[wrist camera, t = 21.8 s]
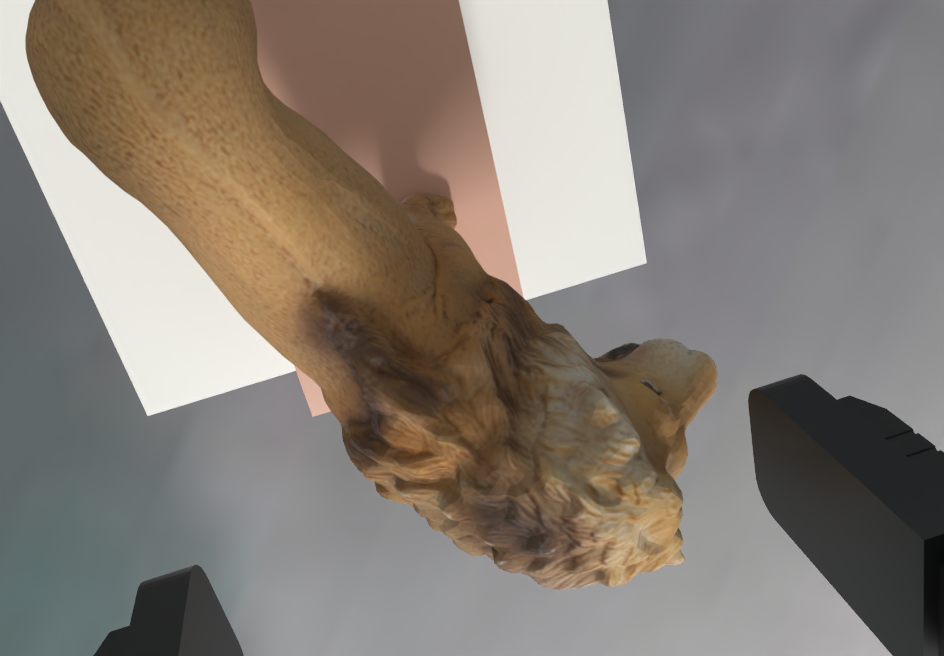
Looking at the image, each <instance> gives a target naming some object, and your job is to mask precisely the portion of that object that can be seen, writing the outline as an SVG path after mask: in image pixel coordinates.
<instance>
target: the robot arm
mask: <svg viewBox="0 0 944 656" xmlns="http://www.w3.org/2000/svg"><path fill="white" fill-rule="evenodd" d="M748 403H749V415H750V424H751V434H752V444H753V454H754V464H755V473H756V480H757V484H758V488H759V491H760V493H761V496H762V498H763V501H764V503H765V505H766V507H767V509H768V510H769V512H770V513H771V515H772V516H773V518H774V519H775V520H776V521H777V523H778V524H779V525H780V526H781V527H782V528H783V529H784V531H785V532H786V533H787V534H788V535H789V536H790V538H791V539H792V540H793V541H794V542H795V543H796V544H797V546H798V547H799V548H800V549H801V550H802V551H803V553H804V554H805V555H806V556H807V557H808V558H809V559H810V561H811V562H812V563H813V564H814V565H815V566H816V568H817V569H818V570H819V571H820V572H821V573H822V574H823V576H824V577H825V578H826V579H827V580H828V581H829V583H830V584H831V585H832V586H833V587H834V588H835V589H836V591H837V592H838V593H839V594H840V595H841V596H842V598H843V599H844V600H845V601H846V602H847V603H848V604H849V606H850V607H851V608H852V609H853V610H854V611H855V612H856V614H857V615H858V616H859V617H860V618H861V619H862V621H863V622H864V623H865V624H866V625H867V626H868V627H869V629H870V630H871V631H872V632H873V633H874V634H875V636H876V637H877V638H878V639H879V640H880V641H881V642H882V644H883V645H884V646H885V647H886V648H887V649H888V651H889V652H890V653H891V654H892V655H893V656H944V452H942V451H941V450H940V451H937V450H936V448H935V446H934V445H933V444H932V443H931V442H929V441H928V440H927V439H925V438H924V437H923V436H921V435H920V434H919V433H917V434H915V433H914V432H913V429H912V428H911V427H909V426H908V425H907V424H905V423H904V422H903V421H901V420H900V419H899V418H898V417H896V416H895V415H894V414H892V413H891V412H890V411H888V410H887V409H885V408H882V407H880V406H877V405H874V404H871V403H868V402H866V401H863V400H860V399H857V398H855V397H852V396H847V397H844V398H841V399H838V400H836V399H835V398H834V397H833V396H832V395H830V394H829V393H828V392H827V391H825V390H824V389H823V388H822V387H820V386H819V385H818V384H817V383H815V382H814V381H813V380H812V379H810V378H809V377H808V376H806V375H802V374H800V375H797V376H794V377H790V378H787V379H784V380H781V381H778V382H775V383H772V384H768V385H765V386H762V387H759V388H756V389H753V390H752V391H751V392H750V394H749V400H748ZM94 656H243V652H242V649H241V647H240V644H239V642H238V640H237V638H236V636H235V634H234V632H233V629H232V627H231V625H230V623H229V621H228V619H227V617H226V615H225V613H224V611H223V609H222V607H221V605H220V603H219V600H218V598H217V596H216V594H215V592H214V590H213V588H212V586H211V584H210V582H209V580H208V578H207V576H206V574H205V572H204V571H203V569H202V568H201V567H200V566H198V565H194V566H191V567H188V568H185V569H181V570H178V571H175V572H172V573H169V574H166V575H163V576H159V577H156V578H153V579H150V580H147V581H144V582H142V583H141V584H140V586H139V588H138V591H137V595H136V600H135V604H134V609H133V613H132V618H131V622H130V626H127V627H124V628H121V629H118V630H115V631H112V632H110V633H109V634H108V635H107V637H106V638H105V640H104V641H103V643H102V644H101V646H100V647H99V649H98V650H97V652H96V653H95V654H94Z"/></svg>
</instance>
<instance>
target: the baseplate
mask: <svg viewBox="0 0 944 656" xmlns="http://www.w3.org/2000/svg"><path fill="white" fill-rule="evenodd" d="M34 2H35V0H0V101H1V103H2V105H3V107H4V109H5V112H6V114H7V116H8V118H9V120H10V122H11V124H12V127H13V129H14V131H15V133H16V135H17V137H18V139H19V142H20V144H21V146H22V148H23V150H24V152H25V154H26V157H27V159H28V161H29V163H30V165H31V167H32V169H33V171H34V174H35V176H36V178H37V180H38V182H39V184H40V186H41V189H42V191H43V193H44V195H45V197H46V199H47V201H48V204H49V206H50V208H51V210H52V212H53V214H54V216H55V219H56V221H57V223H58V225H59V227H60V229H61V231H62V234H63V236H64V238H65V240H66V242H67V244H68V246H69V248H70V251H71V253H72V255H73V257H74V259H75V261H76V263H77V266H78V268H79V270H80V272H81V274H82V276H83V278H84V281H85V283H86V285H87V287H88V289H89V291H90V293H91V296H92V298H93V300H94V302H95V304H96V306H97V308H98V310H99V313H100V315H101V317H102V319H103V321H104V323H105V325H106V328H107V330H108V332H109V334H110V336H111V338H112V340H113V343H114V345H115V347H116V349H117V351H118V353H119V355H120V358H121V360H122V362H123V364H124V366H125V368H126V370H127V372H128V375H129V377H130V379H131V381H132V383H133V385H134V387H135V390H136V392H137V394H138V396H139V398H140V400H141V402H142V405H143V407H144V409H145V411H146V413H147V415H148V416H149V415H153V414H156V413H159V412H162V411H166V410H169V409H172V408H176V407H179V406H182V405H185V404H189V403H192V402H195V401H198V400H202V399H205V398H208V397H211V396H215V395H218V394H221V393H224V392H228V391H231V390H234V389H237V388H241V387H244V386H247V385H251V384H254V383H257V382H260V381H264V380H267V379H270V378H273V377H277V376H280V375H283V374H286V373H290V372H293V371H296V369H295V366H294V365H293V364H292V363H291V362H290V361H288V360H287V359H286V358H284V357H283V356H282V355H281V354H280V353H279V352H278V351H277V350H276V349H275V348H274V347H272V346H271V345H270V344H269V343H268V342H267V341H266V340H265V339H264V338H263V337H262V336H261V335H260V334H259V333H258V332H257V331H256V330H254V329H253V328H252V327H251V326H250V325H249V324H248V323H247V322H246V321H245V320H244V319H243V318H242V317H241V315H240V314H239V313H238V312H237V311H236V310H235V309H234V307H233V306H232V305H231V303H230V302H229V301H228V300H227V298H226V297H225V296H224V295H223V293H222V292H221V291H220V290H219V288H218V287H217V286H216V285H215V283H214V282H213V281H212V280H211V278H210V277H209V276H208V275H207V274H206V272H205V271H204V270H203V269H202V267H201V266H200V265H199V264H198V263H197V261H196V260H195V259H194V258H193V256H192V255H191V254H190V253H189V251H188V250H187V249H186V248H185V247H184V245H183V244H182V243H181V242H180V241H179V239H178V238H177V237H176V236H175V235H174V234H173V233H172V232H171V231H170V229H169V228H168V227H167V226H166V225H165V224H164V223H163V222H162V221H161V220H160V219H158V218H157V217H156V216H155V215H154V214H153V213H152V212H151V211H150V210H149V209H147V208H146V207H145V206H144V205H143V204H142V203H141V202H139V201H138V200H136V199H135V198H133V197H132V196H130V195H129V194H127V193H126V192H125V191H123V190H122V189H121V188H120V187H118V186H117V185H116V184H115V183H113V182H112V181H111V180H110V179H109V178H107V177H106V176H105V175H104V174H103V173H102V172H101V171H100V170H99V169H98V168H97V167H96V166H95V165H94V164H93V163H92V162H91V161H90V160H89V159H88V158H87V157H86V156H85V155H84V154H83V153H82V152H81V151H79V150H78V149H77V148H76V147H75V146H73V145H72V144H71V143H70V142H69V140H68V139H67V138H66V136H65V135H64V134H63V132H62V131H61V129H60V128H59V126H58V125H57V123H56V122H55V120H54V119H53V117H52V116H51V114H50V113H49V111H48V109H47V107H46V105H45V103H44V101H43V99H42V97H41V95H40V93H39V91H38V89H37V87H36V84H35V82H34V80H33V76H32V73H31V70H30V67H29V64H28V60H27V55H26V49H25V37H26V31H27V25H28V19H29V13H30V11H31V8H32V6H33V4H34ZM459 4H460V8H461V13H462V18H463V22H464V27H465V31H466V36H467V41H468V45H469V50H470V54H471V59H472V64H473V68H474V73H475V77H476V82H477V86H478V91H479V96H480V100H481V105H482V109H483V114H484V119H485V123H486V128H487V132H488V137H489V141H490V146H491V151H492V155H493V160H494V164H495V169H496V174H497V178H498V183H499V187H500V192H501V197H502V201H503V206H504V210H505V215H506V219H507V224H508V229H509V233H510V238H511V242H512V247H513V252H514V256H515V261H516V265H517V270H518V274H519V279H520V284H521V288H522V293H523V297H524V299H525V300H528V299H531V298H534V297H538V296H541V295H544V294H547V293H551V292H554V291H557V290H560V289H564V288H567V287H570V286H573V285H577V284H580V283H583V282H587V281H590V280H593V279H596V278H600V277H603V276H606V275H609V274H613V273H616V272H619V271H622V270H626V269H629V268H632V267H635V266H639V265H642V264H645V263H647V262H646V255H645V249H644V242H643V235H642V229H641V222H640V215H639V209H638V202H637V195H636V189H635V182H634V175H633V169H632V162H631V155H630V149H629V142H628V135H627V129H626V122H625V115H624V109H623V102H622V95H621V89H620V82H619V75H618V69H617V62H616V55H615V49H614V42H613V35H612V29H611V22H610V15H609V9H608V2H607V0H459Z"/></svg>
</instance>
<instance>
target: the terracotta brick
mask: <svg viewBox="0 0 944 656" xmlns="http://www.w3.org/2000/svg"><path fill="white" fill-rule="evenodd" d="M250 1H251V4H252V8H253V12H254V17H255V22H256V27H257V61H258V66H259V69H260V73H261V76H262V79H263V81H264V83H265V84H266V86H267V87H268V88H269V90H270V91H271V92H272V93H273V95H275V96H276V97H277V98H278V99H279V100H280V101H281V102H282V103H284V104H285V105H286V106H288V107H289V108H291V109H292V110H294V111H295V112H297V113H298V114H300V115H302V116H303V117H304V118H306V119H307V120H308V121H310V122H311V123H312V124H314V125H315V126H316V127H318V128H319V129H320V130H321V131H323V132H324V133H325V134H326V135H327V136H328V137H329V138H330V139H331V140H332V141H333V142H334V143H336V144H337V145H338V146H339V147H340V148H341V149H342V150H343V151H344V152H345V153H346V154H348V155H349V156H350V157H351V158H352V159H354V160H355V161H356V162H357V163H359V164H360V165H361V166H362V167H363V168H364V169H366V170H367V171H368V172H369V173H370V174H371V175H372V176H373V177H374V178H376V179H377V180H378V181H379V182H380V183H381V184H382V186H383V187H384V188H385V189H386V190H387V191H388V192H389V193H390V195H391V196H392V197H393V198H394V199H395V200H396V202H397V203H398V204H399V203H401V202H402V201H403V200H404V199H405V198H406V197H408V196H411V195H413V194H435V195H440V196H444V197H447V198H449V199H450V200H451V201H452V202H453V204H454V213H455V215H456V217H457V225H456V227H455V229H454V230H455V231H456V232H458V233H459V234H460V235H461V236H462V238H463V239H464V240H465V242H466V243H467V245H468V246H469V247H470V249H471V251H472V252H473V254H474V256H475V258H476V259H477V261H478V262H479V264H480V265H481V267H482V268H483V269H484V271H485V272H486V273H487V274H488V275H490V276H493V277H495V278H498V279H500V280H502V281H505V282H506V283H508V284H509V286H511V287H512V288H513V289H514V290H515V291H516V292H518V293H519V294H520V295H521V296H522V297H523V293H522V288H521V284H520V279H519V274H518V270H517V265H516V261H515V256H514V252H513V247H512V242H511V238H510V233H509V229H508V224H507V219H506V215H505V210H504V206H503V201H502V197H501V192H500V187H499V183H498V178H497V174H496V169H495V164H494V160H493V155H492V151H491V146H490V141H489V137H488V132H487V128H486V123H485V119H484V114H483V109H482V105H481V100H480V96H479V91H478V86H477V82H476V77H475V73H474V68H473V64H472V59H471V54H470V50H469V45H468V41H467V36H466V31H465V27H464V22H463V18H462V13H461V8H460V4H459V0H250ZM523 298H524V297H523ZM294 366H295V365H294ZM295 369H296V372H297V375H298V377H299V380H300V383H301V386H302V389H303V391H304V394H305V397H306V400H307V402H308V405H309V408H310V411H311V413H312V416H313V417H314V416H317V415H320V414H323V413H327V412H330V411H331V410H330V409H329V407H328V406H327V404H326V403H325V401H324V398H323V394H322V391H321V388H320V387H319V386H318V385H317V384H316V383H315V382H314V381H313V380H312V379H311V378H310V377H308V376H307V375H306V374H305V373H303V372H302V371H301V370H300V369H298V368H297V367H296V366H295Z"/></svg>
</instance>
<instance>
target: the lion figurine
mask: <svg viewBox="0 0 944 656" xmlns="http://www.w3.org/2000/svg"><path fill="white" fill-rule="evenodd" d="M25 49H26V55H27V60H28V64H29V67H30V70H31V73H32V76H33V80H34V82H35V84H36V87H37V89H38V91H39V93H40V95H41V97H42V99H43V101H44V103H45V105H46V107H47V109H48V111H49V113H50V114H51V116H52V117H53V119H54V120H55V122H56V123H57V125H58V126H59V128H60V129H61V131H62V132H63V134H64V135H65V136H66V138H67V139H68V140H69V142H70V143H71V144H72V145H73V146H75V147H76V148H77V149H78V150H79V151H81V152H82V153H83V154H84V155H85V156H86V157H87V158H88V159H89V160H90V161H91V162H92V163H93V164H94V165H95V166H96V167H97V168H98V169H99V170H100V171H101V172H102V173H103V174H104V175H105V176H106V177H107V178H109V179H110V180H111V181H112V182H113V183H115V184H116V185H117V186H118V187H120V188H121V189H122V190H123V191H125V192H126V193H127V194H129V195H130V196H132V197H133V198H135V199H136V200H138V201H139V202H141V203H142V204H143V205H144V206H145V207H146V208H147V209H149V210H150V211H151V212H152V213H153V214H154V215H155V216H156V217H157V218H158V219H160V220H161V221H162V222H163V223H164V224H165V225H166V226H167V227H168V228H169V229H170V231H171V232H172V233H173V234H174V235H175V236H176V237H177V238H178V239H179V241H180V242H181V243H182V244H183V245H184V247H185V248H186V249H187V250H188V251H189V253H190V254H191V255H192V256H193V258H194V259H195V260H196V261H197V263H198V264H199V265H200V266H201V267H202V269H203V270H204V271H205V272H206V274H207V275H208V276H209V277H210V278H211V280H212V281H213V282H214V283H215V285H216V286H217V287H218V288H219V290H220V291H221V292H222V293H223V295H224V296H225V297H226V298H227V300H228V301H229V302H230V303H231V305H232V306H233V307H234V309H235V310H236V311H237V312H238V313H239V314H240V315H241V317H242V318H243V319H244V320H245V321H246V322H247V323H248V324H249V325H250V326H251V327H252V328H253V329H254V330H256V331H257V332H258V333H259V334H260V335H261V336H262V337H263V338H264V339H265V340H266V341H267V342H268V343H269V344H270V345H271V346H272V347H274V348H275V349H276V350H277V351H278V352H279V353H280V354H281V355H282V356H283V357H284V358H286V359H287V360H288V361H290V362H291V363H292V364H293V365H295V366H296V367H297V368H298V369H300V370H301V371H302V372H303V373H305V374H306V375H307V376H308V377H310V378H311V379H312V380H313V381H314V382H315V383H316V384H317V385H318V386H319V387H320V388H321V391H322V394H323V398H324V401H325V403H326V404H327V406H328V407H329V409H330V410H331V412H332V413H333V414H334V416H335V417H336V418H337V419H338V420H339V422H340V424H341V426H342V436H343V442H344V445H345V448H346V451H347V453H348V455H349V457H350V459H351V461H352V462H353V463H354V465H355V466H356V467H357V469H358V470H359V471H361V472H362V473H363V475H364V476H365V477H366V478H367V479H368V480H372V481H374V482H375V486H376V490H377V492H378V493H379V494H380V495H381V496H382V497H384V498H386V499H389V500H392V501H396V502H399V503H404V504H409V505H411V506H412V507H414V509H415V511H416V512H417V513H418V514H419V515H420V516H422V517H425V518H426V519H427V521H428V523H429V526H430V527H431V528H432V529H434V530H437V531H441V532H443V533H444V534H445V535H446V536H448V537H449V538H451V539H452V540H453V543H454V544H455V545H456V546H457V547H458V548H459V549H461V550H463V551H464V552H466V553H468V554H470V555H471V556H481V555H484V554H486V555H487V556H488V557H489V558H491V559H492V560H494V563H495V564H496V565H497V566H498V567H499V569H502V570H505V571H507V572H510V573H520V572H521V573H523V574H525V575H528V576H530V577H531V578H533V579H534V580H535V581H536V582H537V583H538V584H539V585H541V586H543V587H546V588H551V589H556V590H565V589H574V588H582V587H585V586H589V585H594V584H604V585H606V586H609V587H612V586H617V585H623V584H626V583H628V582H629V581H631V579H632V578H633V577H634V576H635V575H636V574H638V573H642V572H653V571H655V570H658V569H659V568H661V567H662V566H663V565H677V564H680V563H683V561H684V560H685V558H684V556H683V554H682V553H681V550H680V548H681V546H682V544H683V539H682V535H681V532H680V530H679V528H678V527H679V525H680V522H681V518H682V516H683V514H682V507H681V506H682V503H683V496H682V492H681V490H680V489H679V487H678V486H677V484H676V482H675V478H676V477H677V476H678V475H679V474H680V473H681V471H682V469H683V467H684V465H685V463H686V459H687V456H688V453H687V444H686V438H685V430H686V427H687V426H688V425H689V424H690V422H691V421H692V420H693V419H694V417H695V416H696V414H697V412H698V411H699V410H700V409H701V407H702V406H703V405H704V404H705V403H706V402H707V401H708V400H709V399H710V398H711V397H712V396H713V394H714V392H715V389H716V387H717V370H716V365H715V362H714V361H713V360H712V359H711V358H710V357H709V356H708V355H707V354H705V353H703V352H700V351H696V350H694V351H692V350H690V349H688V348H687V347H686V346H684V345H683V344H682V343H680V342H678V341H675V340H671V339H660V338H659V339H653V340H648V341H646V342H644V343H642V344H641V345H640V344H636V343H627V344H624V345H622V346H621V347H618V348H615V349H613V350H611V351H609V352H607V353H606V354H604V355H602V356H601V357H599V358H595V359H593V358H591V357H590V356H589V355H588V354H587V353H586V352H585V351H584V350H583V349H582V347H581V346H580V345H579V344H578V342H577V341H576V340H575V339H574V338H573V337H572V336H571V334H570V333H569V332H568V331H567V330H566V329H565V328H564V327H563V326H562V325H559V324H547V323H545V322H543V321H542V320H541V319H540V318H539V317H538V315H537V314H536V313H535V311H534V310H533V308H532V307H531V305H530V304H529V303H528V301H526V300H525V299H524V298H523V297H522V296H521V295H520V294H519V293H518V292H516V291H515V290H514V289H513V288H512V287H511V286H509V284H508V283H506V282H505V281H502V280H500V279H498V278H495V277H493V276H490V275H488V274H487V273H486V272H485V271H484V269H483V268H482V267H481V265H480V264H479V262H478V261H477V259H476V258H475V256H474V254H473V252H472V251H471V249H470V247H469V246H468V245H467V243H466V242H465V240H464V239H463V238H462V236H461V235H460V234H459V233H458V232H456V231H455V230H454V229H455V227H456V225H457V217H456V215H455V213H454V204H453V202H452V201H451V200H450V199H449V198H447V197H444V196H440V195H435V194H413V195H411V196H408V197H406V198H405V199H404V200H403V201H402V202H401V203H399V204H398V203H397V202H396V200H395V199H394V198H393V197H392V196H391V195H390V193H389V192H388V191H387V190H386V189H385V188H384V187H383V186H382V184H381V183H380V182H379V181H378V180H377V179H376V178H374V177H373V176H372V175H371V174H370V173H369V172H368V171H367V170H366V169H364V168H363V167H362V166H361V165H360V164H359V163H357V162H356V161H355V160H354V159H352V158H351V157H350V156H349V155H348V154H346V153H345V152H344V151H343V150H342V149H341V148H340V147H339V146H338V145H337V144H336V143H334V142H333V141H332V140H331V139H330V138H329V137H328V136H327V135H326V134H325V133H324V132H323V131H321V130H320V129H319V128H318V127H316V126H315V125H314V124H312V123H311V122H310V121H308V120H307V119H306V118H304V117H303V116H302V115H300V114H298V113H297V112H295V111H294V110H292V109H291V108H289V107H288V106H286V105H285V104H284V103H282V102H281V101H280V100H279V99H278V98H277V97H276V96H275V95H273V93H272V92H271V91H270V90H269V88H268V87H267V86H266V84H265V83H264V81H263V79H262V76H261V73H260V69H259V66H258V61H257V27H256V22H255V17H254V12H253V8H252V4H251V1H250V0H35V2H34V4H33V6H32V8H31V11H30V13H29V19H28V25H27V31H26V37H25Z"/></svg>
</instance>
